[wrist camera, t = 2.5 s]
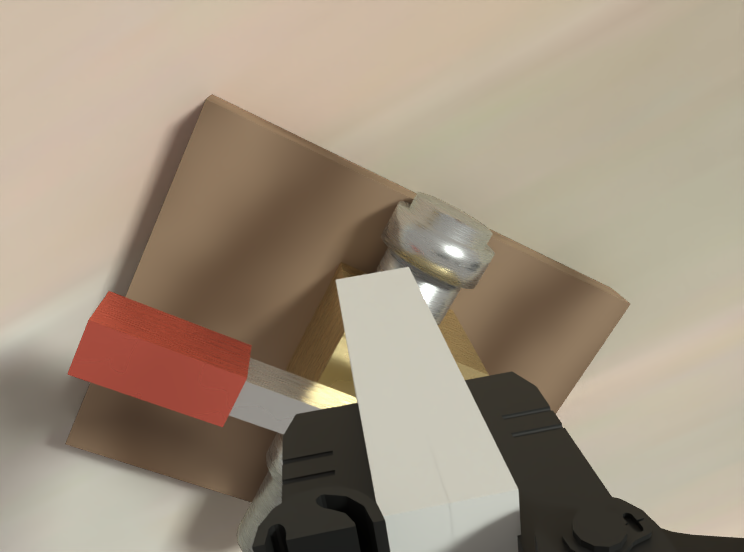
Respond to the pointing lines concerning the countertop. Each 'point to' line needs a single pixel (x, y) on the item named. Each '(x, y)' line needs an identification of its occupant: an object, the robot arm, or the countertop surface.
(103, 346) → the valve lever
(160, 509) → the countertop surface
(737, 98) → the countertop surface
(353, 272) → the valve pipe
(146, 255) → the mounting board
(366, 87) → the countertop surface
